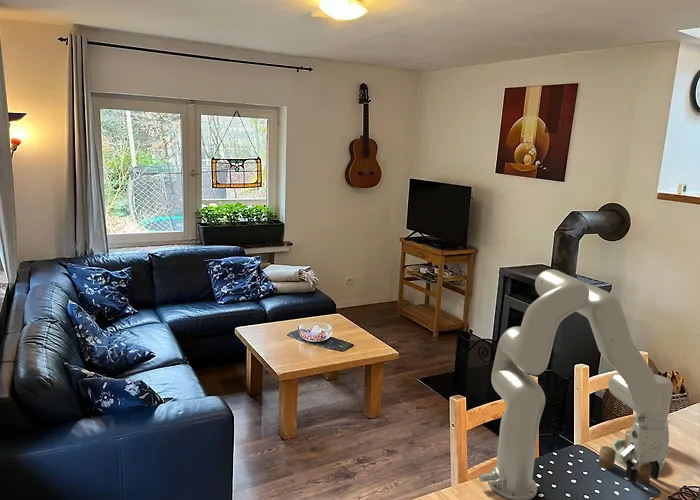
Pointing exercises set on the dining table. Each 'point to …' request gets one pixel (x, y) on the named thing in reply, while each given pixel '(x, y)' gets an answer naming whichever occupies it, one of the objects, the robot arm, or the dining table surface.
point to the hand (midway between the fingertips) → (641, 477)
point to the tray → (621, 446)
